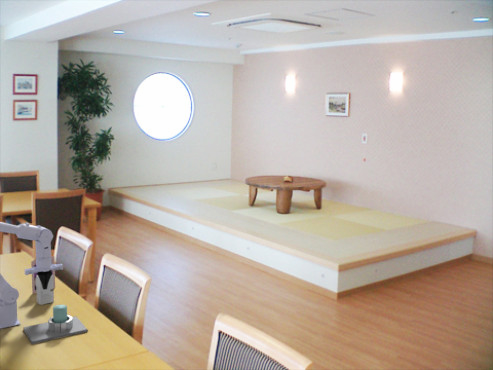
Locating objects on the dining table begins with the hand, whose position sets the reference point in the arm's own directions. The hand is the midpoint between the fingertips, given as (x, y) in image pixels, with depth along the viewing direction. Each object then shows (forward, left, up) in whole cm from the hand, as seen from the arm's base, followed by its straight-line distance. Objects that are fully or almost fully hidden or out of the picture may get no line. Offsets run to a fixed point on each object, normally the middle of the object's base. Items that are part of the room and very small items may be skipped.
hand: (44, 288), depth 214 cm
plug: (+1, -19, -9) cm, 21 cm away
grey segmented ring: (+1, -19, -9) cm, 21 cm away
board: (-1, -19, -10) cm, 22 cm away
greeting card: (+5, +29, -11) cm, 31 cm away
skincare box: (+3, +12, -11) cm, 16 cm away
